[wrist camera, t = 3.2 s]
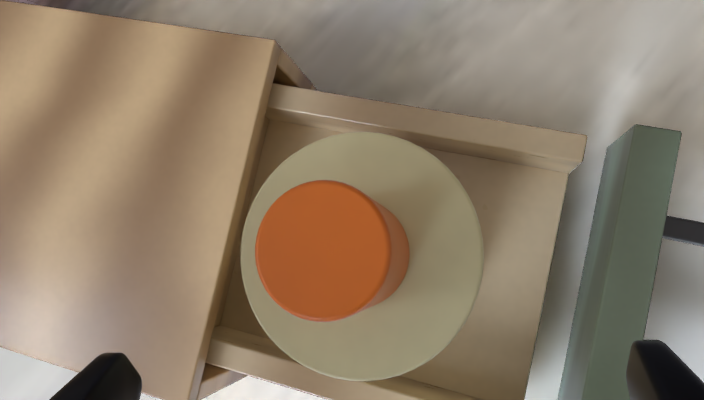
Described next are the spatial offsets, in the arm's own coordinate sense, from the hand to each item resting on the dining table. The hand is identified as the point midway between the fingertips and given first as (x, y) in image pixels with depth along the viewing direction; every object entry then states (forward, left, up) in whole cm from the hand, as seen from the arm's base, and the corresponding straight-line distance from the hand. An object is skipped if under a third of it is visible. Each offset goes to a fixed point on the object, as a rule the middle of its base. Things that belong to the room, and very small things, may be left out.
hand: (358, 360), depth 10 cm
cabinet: (+12, +3, -10) cm, 16 cm away
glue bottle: (+1, -2, -8) cm, 8 cm away
